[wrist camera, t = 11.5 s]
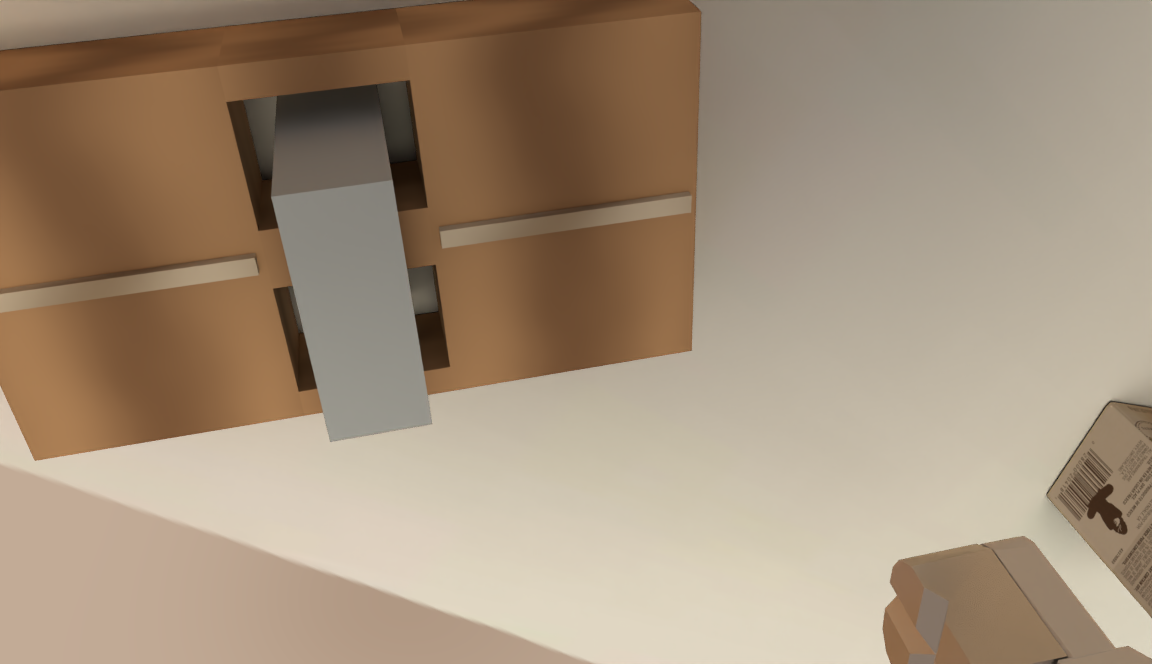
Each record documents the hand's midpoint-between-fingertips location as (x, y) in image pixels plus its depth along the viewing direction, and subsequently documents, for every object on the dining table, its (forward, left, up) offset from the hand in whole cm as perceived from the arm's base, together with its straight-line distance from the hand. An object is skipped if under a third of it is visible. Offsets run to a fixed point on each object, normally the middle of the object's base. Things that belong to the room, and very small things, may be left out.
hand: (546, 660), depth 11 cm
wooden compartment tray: (+2, +6, -24) cm, 25 cm away
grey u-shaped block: (+2, +6, -24) cm, 25 cm away
